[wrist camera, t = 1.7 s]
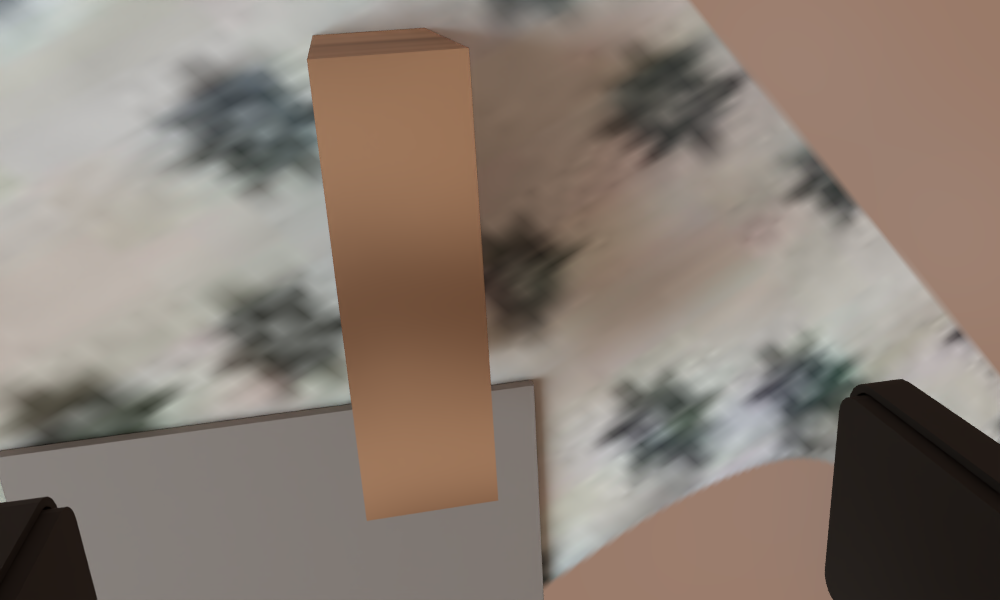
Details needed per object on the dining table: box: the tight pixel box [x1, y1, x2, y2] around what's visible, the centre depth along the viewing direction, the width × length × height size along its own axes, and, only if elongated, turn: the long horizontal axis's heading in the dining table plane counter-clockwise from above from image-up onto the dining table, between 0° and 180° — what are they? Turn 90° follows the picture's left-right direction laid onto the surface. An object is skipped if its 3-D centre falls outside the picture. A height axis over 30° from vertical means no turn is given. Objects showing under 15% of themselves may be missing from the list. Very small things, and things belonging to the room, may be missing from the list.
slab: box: [307, 28, 498, 521], centre depth 22 cm, size 10×3×8 cm, turn 3°
